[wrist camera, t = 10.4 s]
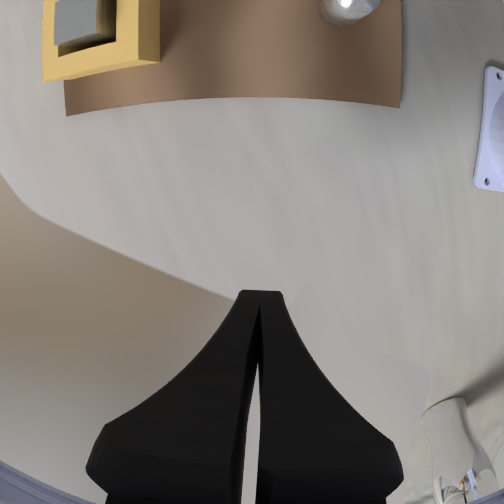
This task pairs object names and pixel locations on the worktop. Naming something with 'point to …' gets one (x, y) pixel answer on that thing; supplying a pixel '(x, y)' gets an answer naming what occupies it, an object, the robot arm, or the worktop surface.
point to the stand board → (243, 52)
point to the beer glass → (456, 455)
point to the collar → (108, 55)
